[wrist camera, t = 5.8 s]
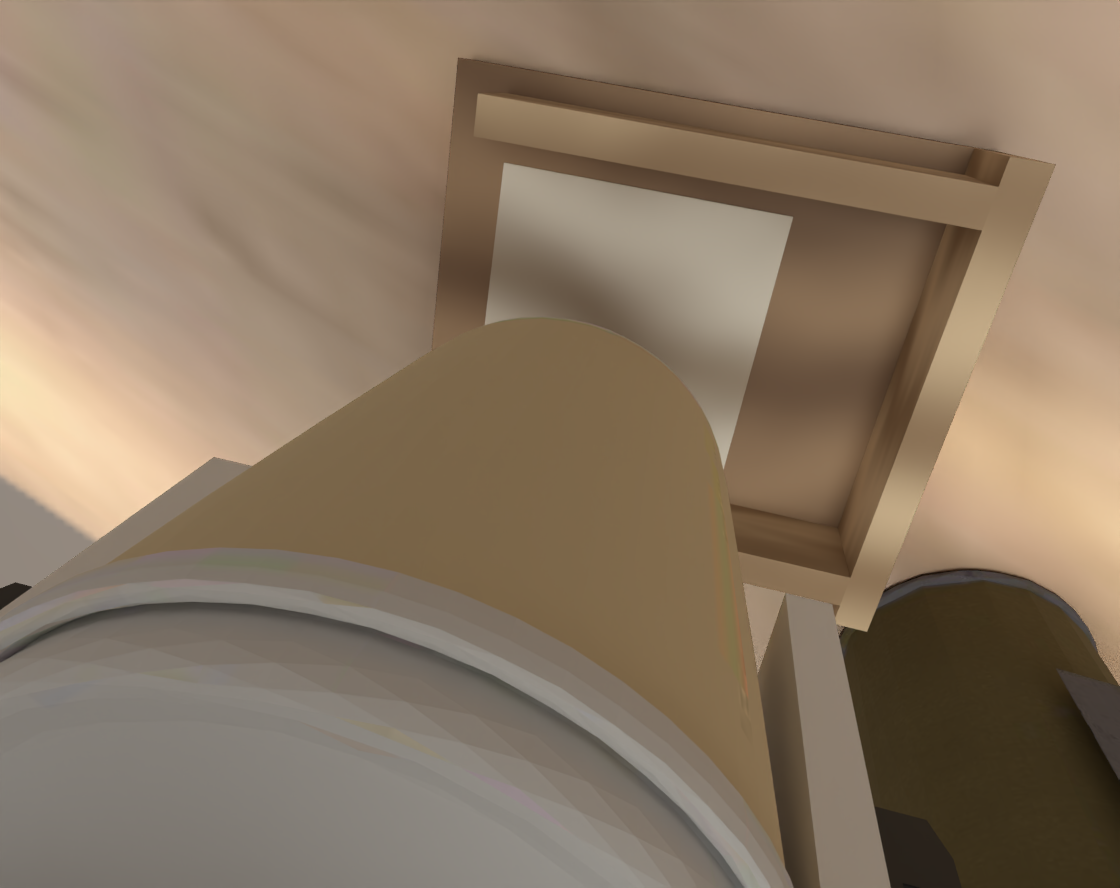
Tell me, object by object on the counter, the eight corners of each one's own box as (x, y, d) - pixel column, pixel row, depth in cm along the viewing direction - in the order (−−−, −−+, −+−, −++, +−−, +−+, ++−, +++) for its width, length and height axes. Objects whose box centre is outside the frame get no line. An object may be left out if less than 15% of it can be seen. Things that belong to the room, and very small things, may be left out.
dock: (471, 59, 28) (422, 53, 23) (998, 151, 26) (1055, 164, 22) (431, 461, 35) (388, 516, 30) (847, 557, 33) (867, 631, 28)
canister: (1025, 792, 36) (1324, 1496, 18) (797, 724, 37) (865, 1330, 19) (1152, 602, 31) (1731, 1296, 13) (888, 528, 32) (1095, 1088, 14)
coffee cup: (378, 629, 21) (4, 1213, 10) (330, 268, 17) (-358, 578, 6) (746, 667, 19) (775, 1418, 8) (783, 277, 15) (922, 723, 5)
